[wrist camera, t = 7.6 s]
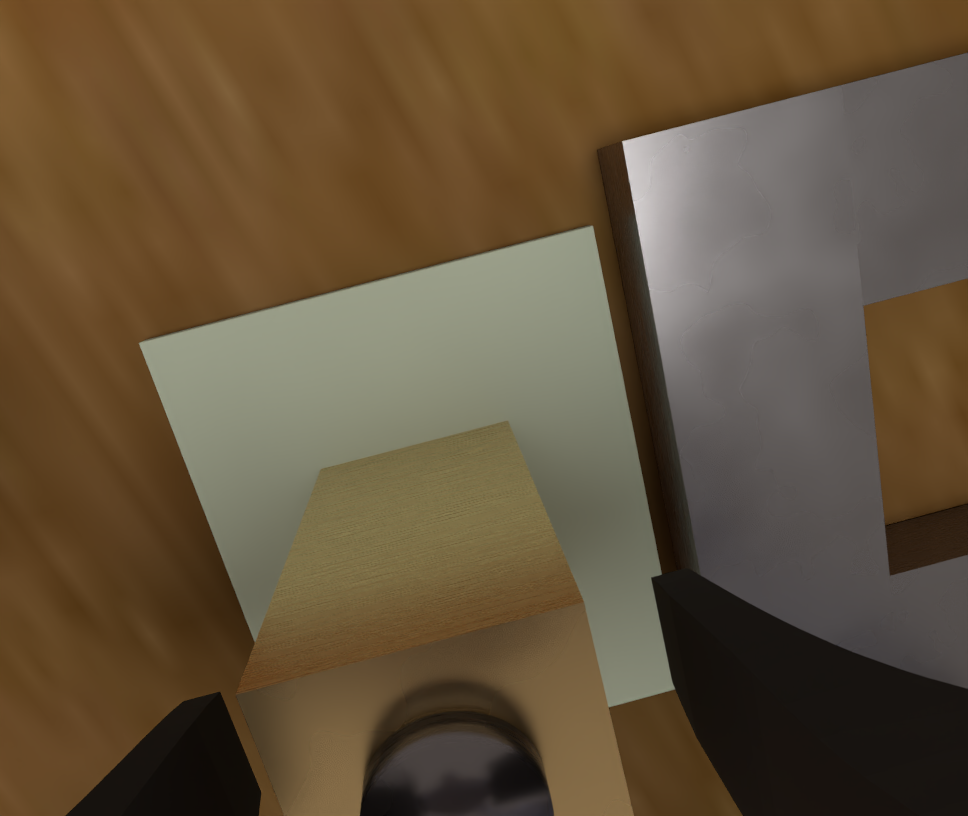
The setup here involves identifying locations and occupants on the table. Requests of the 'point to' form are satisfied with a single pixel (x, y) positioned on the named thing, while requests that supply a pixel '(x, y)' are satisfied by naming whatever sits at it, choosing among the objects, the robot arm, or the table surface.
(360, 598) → the end cover
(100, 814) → the robot arm
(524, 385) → the mat
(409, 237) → the table surface
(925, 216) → the square plate with hole
